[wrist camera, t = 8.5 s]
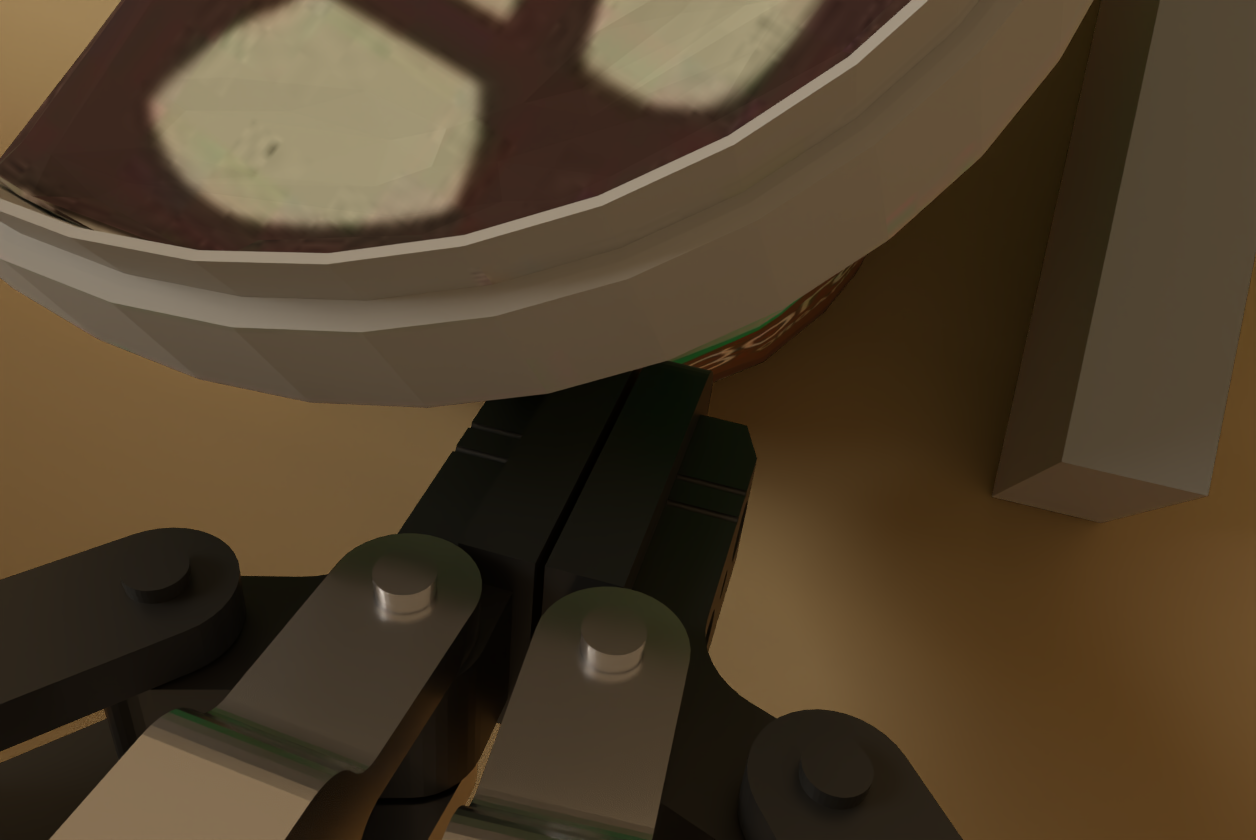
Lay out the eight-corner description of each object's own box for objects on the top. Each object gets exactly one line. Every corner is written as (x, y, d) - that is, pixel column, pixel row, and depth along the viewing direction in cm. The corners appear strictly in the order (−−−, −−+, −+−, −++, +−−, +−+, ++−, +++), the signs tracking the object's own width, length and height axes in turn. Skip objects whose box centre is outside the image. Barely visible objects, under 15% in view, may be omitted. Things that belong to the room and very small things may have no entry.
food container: (683, 669, 16) (546, 766, 6) (352, 429, 17) (-186, 205, 8) (1155, -20, 17) (1672, -867, 7) (807, -205, 18) (845, -1151, 8)
